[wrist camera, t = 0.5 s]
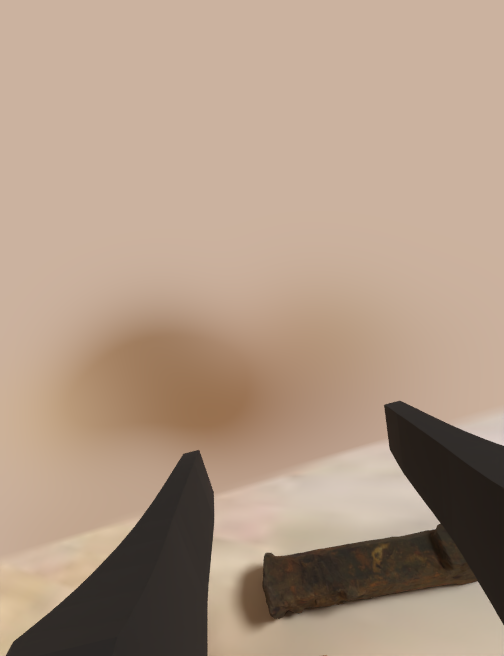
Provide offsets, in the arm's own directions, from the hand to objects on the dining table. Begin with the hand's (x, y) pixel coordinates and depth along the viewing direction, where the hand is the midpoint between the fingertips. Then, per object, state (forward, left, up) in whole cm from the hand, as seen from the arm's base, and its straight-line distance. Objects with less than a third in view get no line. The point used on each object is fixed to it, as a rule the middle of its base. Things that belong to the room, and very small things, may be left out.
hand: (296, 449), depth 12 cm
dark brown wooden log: (+2, -3, -21) cm, 21 cm away
